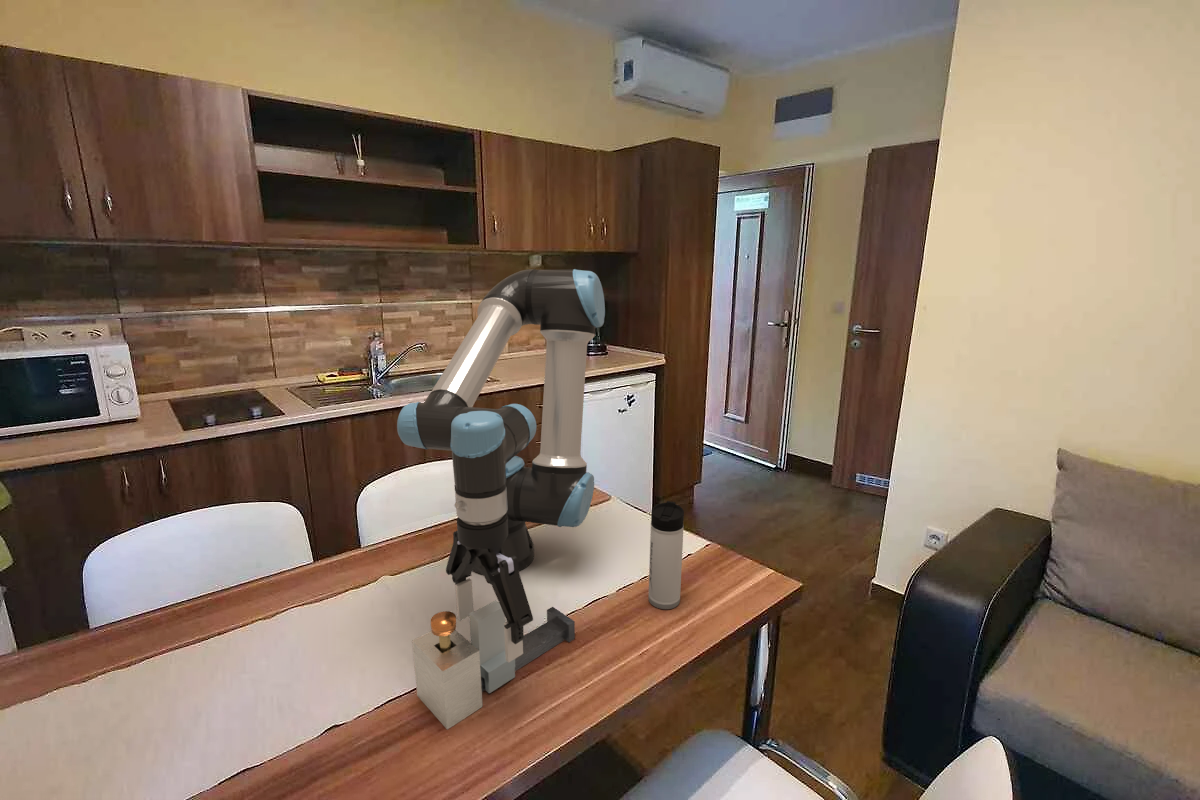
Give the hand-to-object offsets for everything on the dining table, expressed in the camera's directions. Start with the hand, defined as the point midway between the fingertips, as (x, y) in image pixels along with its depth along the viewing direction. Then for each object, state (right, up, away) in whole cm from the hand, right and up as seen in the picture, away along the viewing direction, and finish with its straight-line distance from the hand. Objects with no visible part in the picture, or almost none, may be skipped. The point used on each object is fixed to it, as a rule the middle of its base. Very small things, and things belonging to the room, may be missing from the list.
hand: (488, 635), depth 89 cm
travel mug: (+31, -2, +22) cm, 38 cm away
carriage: (0, -7, +2) cm, 8 cm away
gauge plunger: (-5, -3, -5) cm, 8 cm away
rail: (+2, -7, +4) cm, 8 cm away
